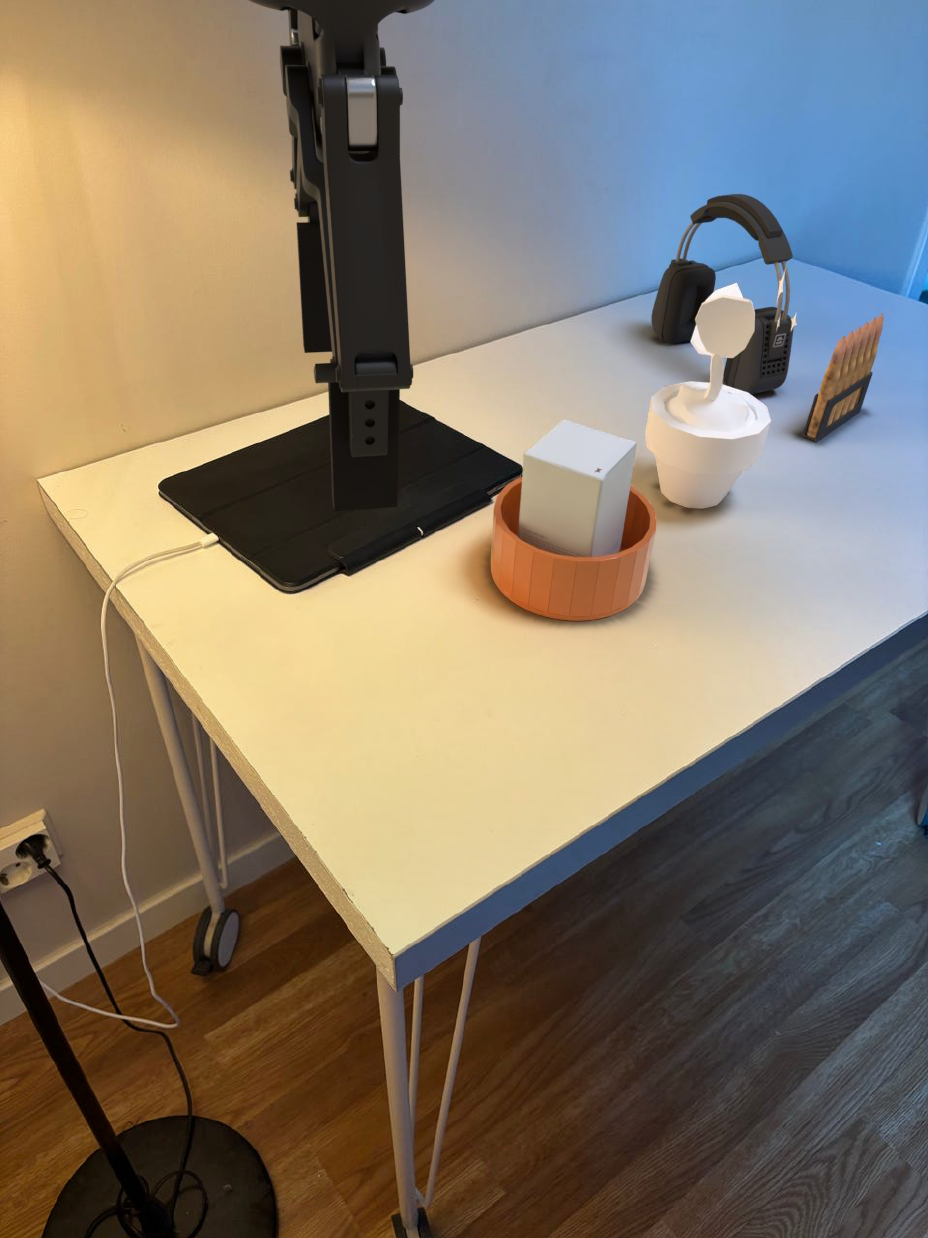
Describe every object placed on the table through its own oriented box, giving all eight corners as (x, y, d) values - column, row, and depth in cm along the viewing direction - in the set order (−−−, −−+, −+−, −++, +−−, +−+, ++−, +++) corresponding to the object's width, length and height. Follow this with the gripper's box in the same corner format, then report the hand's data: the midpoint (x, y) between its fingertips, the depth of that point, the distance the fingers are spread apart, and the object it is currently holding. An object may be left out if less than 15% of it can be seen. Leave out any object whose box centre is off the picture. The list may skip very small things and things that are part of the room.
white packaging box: (620, 561, 88) (641, 441, 80) (584, 603, 84) (602, 480, 75) (550, 534, 91) (564, 415, 83) (511, 573, 86) (521, 451, 78)
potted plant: (740, 537, 93) (809, 284, 76) (623, 510, 96) (666, 260, 79) (757, 473, 102) (823, 234, 85) (650, 450, 105) (694, 215, 88)
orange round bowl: (498, 622, 82) (502, 562, 78) (484, 526, 93) (488, 469, 88) (660, 619, 83) (673, 560, 79) (628, 525, 94) (638, 468, 89)
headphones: (787, 395, 116) (834, 226, 102) (745, 404, 113) (788, 233, 100) (682, 323, 131) (712, 168, 118) (643, 330, 128) (669, 173, 115)
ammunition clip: (846, 405, 114) (878, 308, 106) (860, 411, 113) (893, 313, 105) (801, 436, 108) (831, 335, 100) (816, 442, 107) (847, 341, 99)
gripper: (545, -69, 23) (478, 583, 38) (387, -180, 40) (383, 297, 55) (228, -83, 22) (287, 601, 36) (205, -192, 39) (251, 301, 54)
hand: (345, 418), depth 46 cm, fingers open, 13 cm apart
